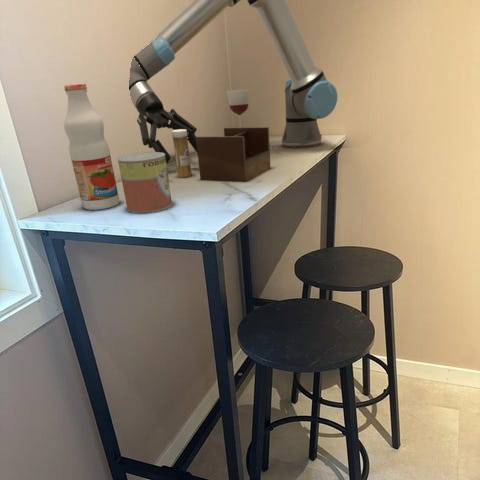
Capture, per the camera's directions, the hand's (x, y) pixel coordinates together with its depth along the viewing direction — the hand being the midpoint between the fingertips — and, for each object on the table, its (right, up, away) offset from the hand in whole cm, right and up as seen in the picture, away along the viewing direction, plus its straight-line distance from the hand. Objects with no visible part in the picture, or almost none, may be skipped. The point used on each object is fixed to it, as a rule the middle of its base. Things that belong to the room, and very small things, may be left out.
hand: (185, 156), depth 140 cm
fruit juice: (-19, -20, -20) cm, 35 cm away
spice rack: (+15, -5, +1) cm, 16 cm away
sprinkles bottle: (-1, -5, +4) cm, 6 cm away
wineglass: (+17, +22, +50) cm, 58 cm away
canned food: (-6, -22, -25) cm, 33 cm away
